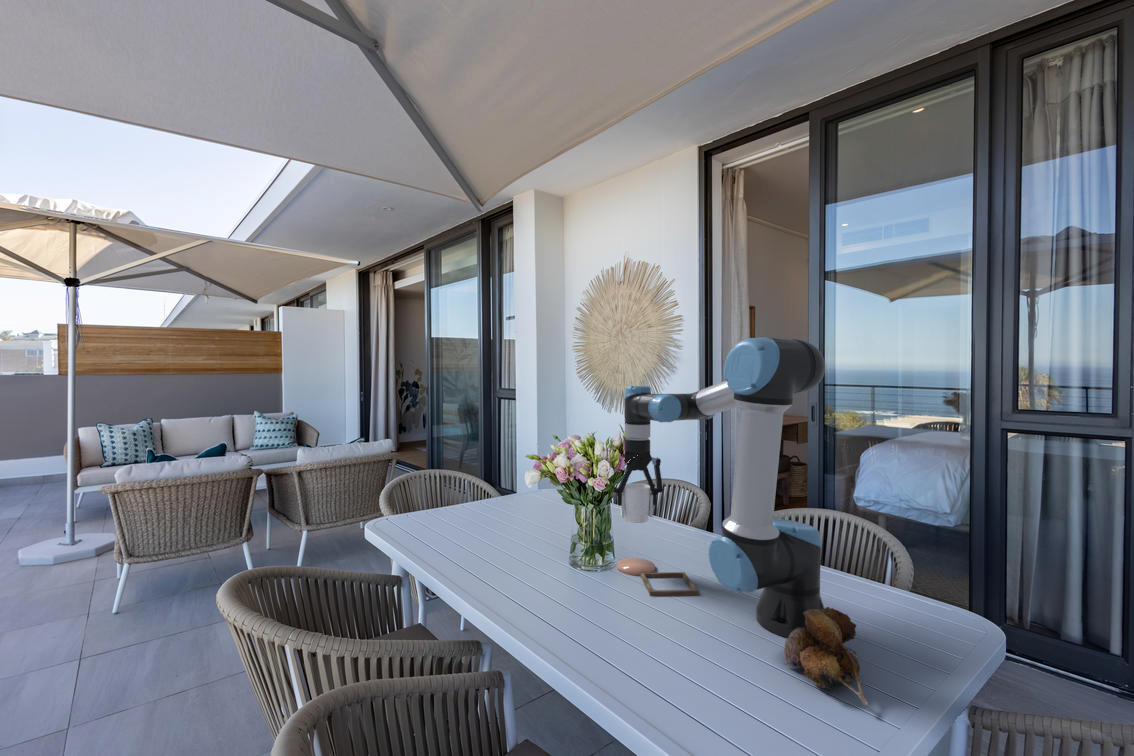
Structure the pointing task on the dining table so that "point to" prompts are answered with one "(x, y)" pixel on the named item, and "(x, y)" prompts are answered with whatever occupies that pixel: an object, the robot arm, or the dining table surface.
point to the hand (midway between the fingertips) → (636, 516)
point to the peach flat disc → (635, 566)
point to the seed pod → (825, 649)
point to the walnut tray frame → (669, 592)
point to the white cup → (636, 502)
